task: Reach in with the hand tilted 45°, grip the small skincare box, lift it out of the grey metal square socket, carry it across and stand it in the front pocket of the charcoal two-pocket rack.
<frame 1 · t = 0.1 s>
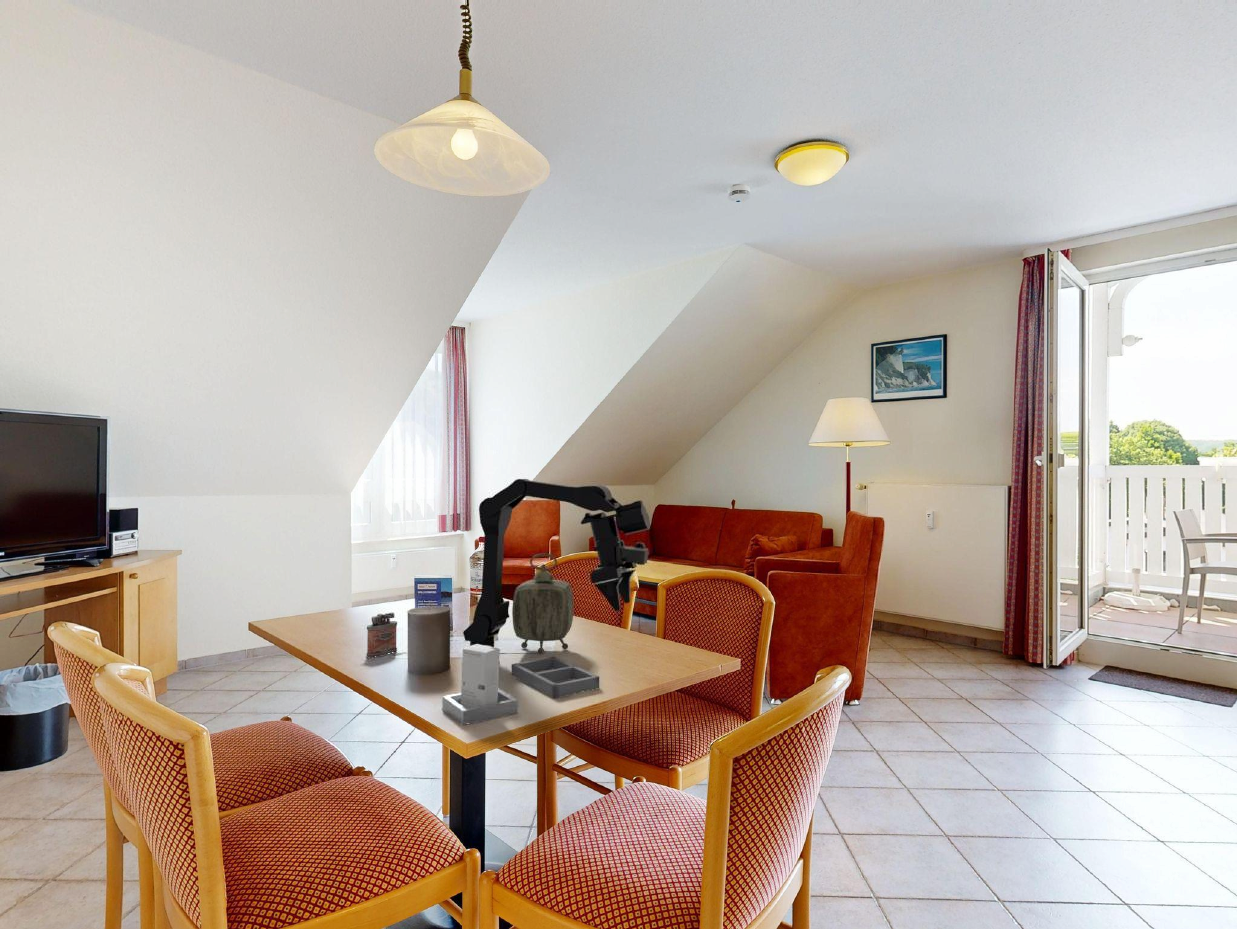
hand: (622, 606, 154), 15 cm above the table, tool pointing down, fingers open, 9 cm apart
skincare box: (479, 712, 130), resting in socket
tabletop clock: (542, 652, 173), on the table
lighter: (381, 654, 171), on the table
pillar candle: (428, 669, 158), on the table
socket: (479, 711, 130), on the table
rack: (554, 681, 149), on the table
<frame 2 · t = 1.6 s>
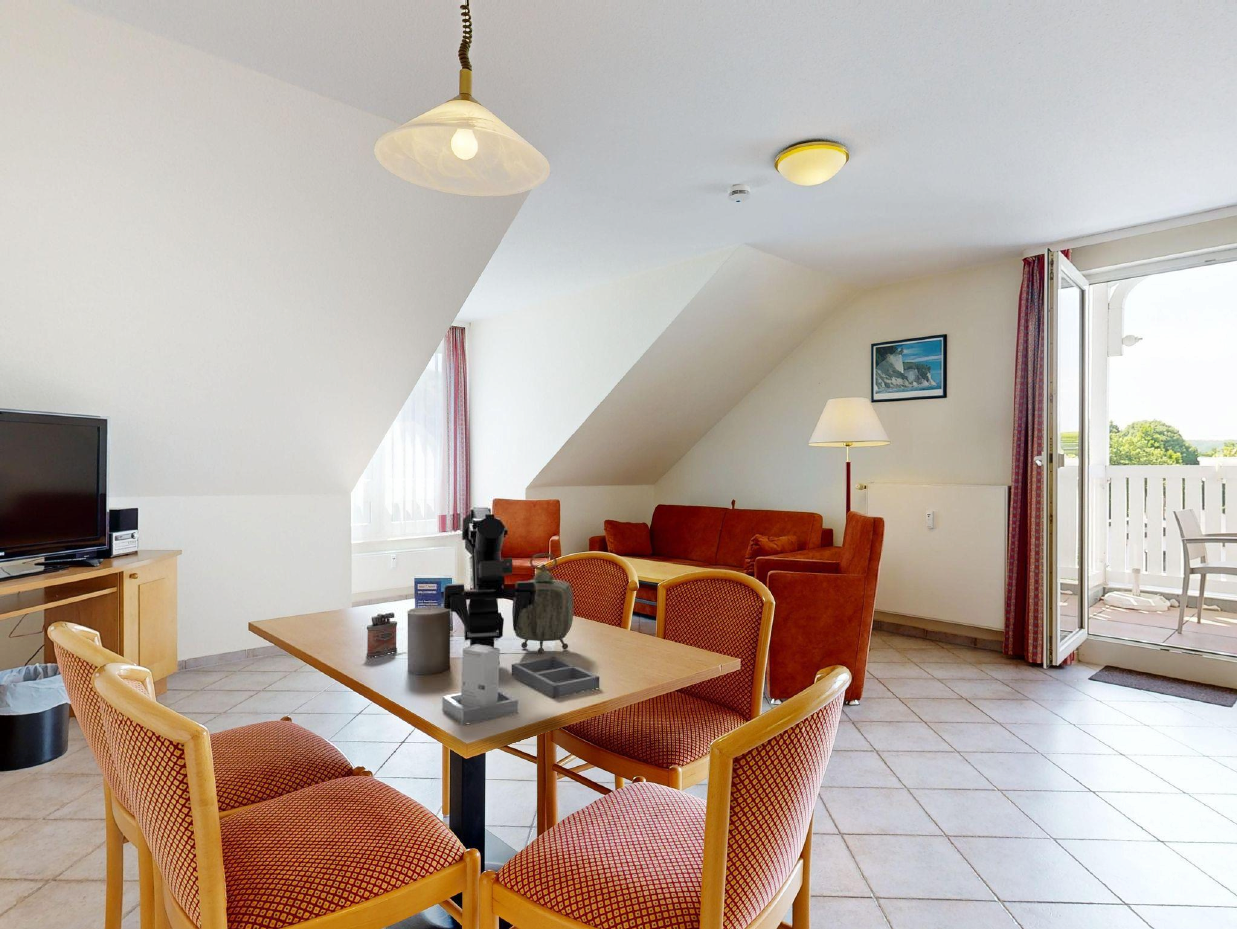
hand: (492, 630, 138), 14 cm above the table, tool tilted 40°, fingers open, 9 cm apart
nothing on the table moved.
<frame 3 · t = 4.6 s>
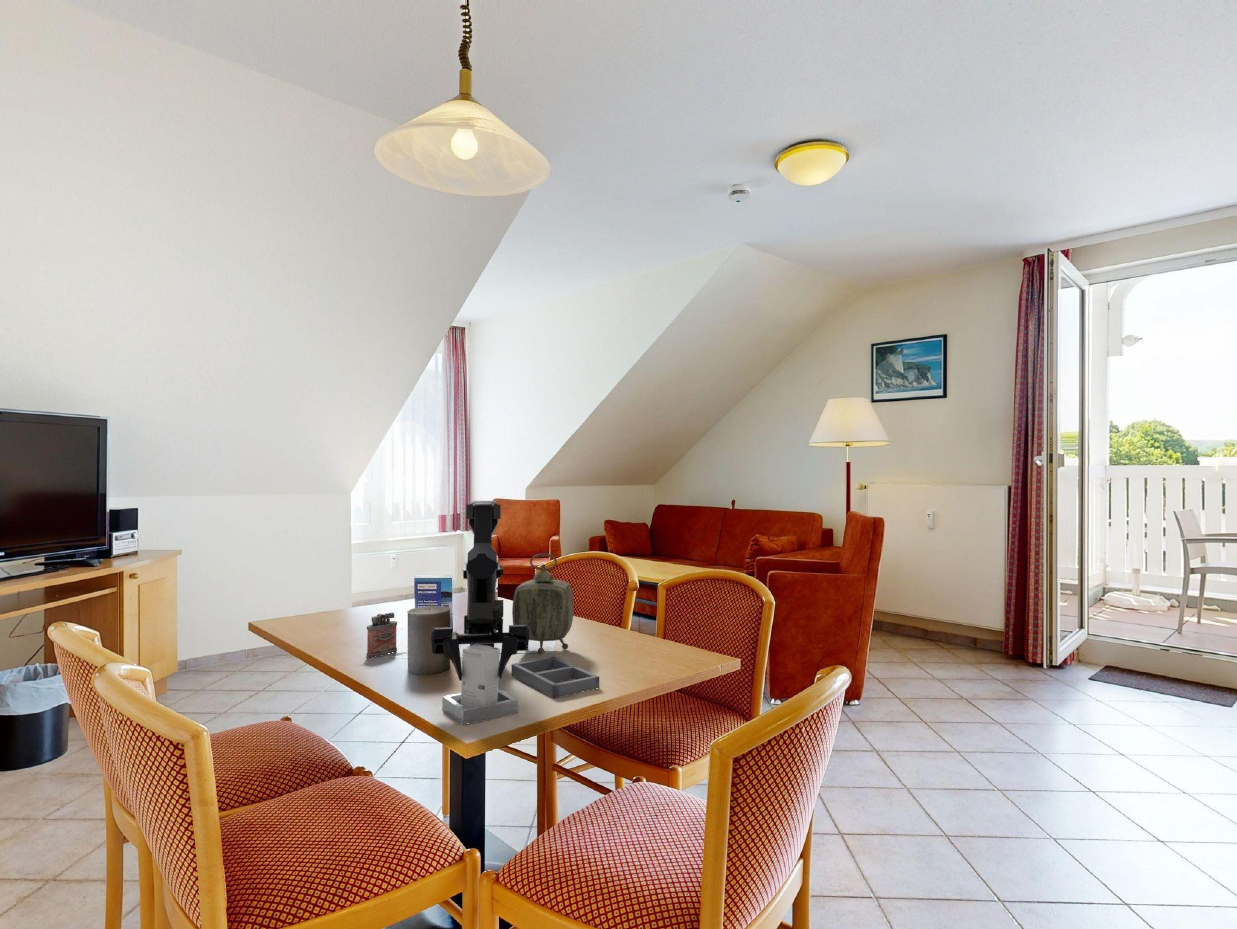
hand: (480, 678, 129), 7 cm above the table, tool tilted 45°, fingers closed on skincare box, 7 cm apart
skincare box: (479, 712, 130), resting in socket, touching gripper
everything else where it was.
when the fingers open (8 cm above the table, at t = 10.0 s): skincare box drops 1 cm, resting in rack.
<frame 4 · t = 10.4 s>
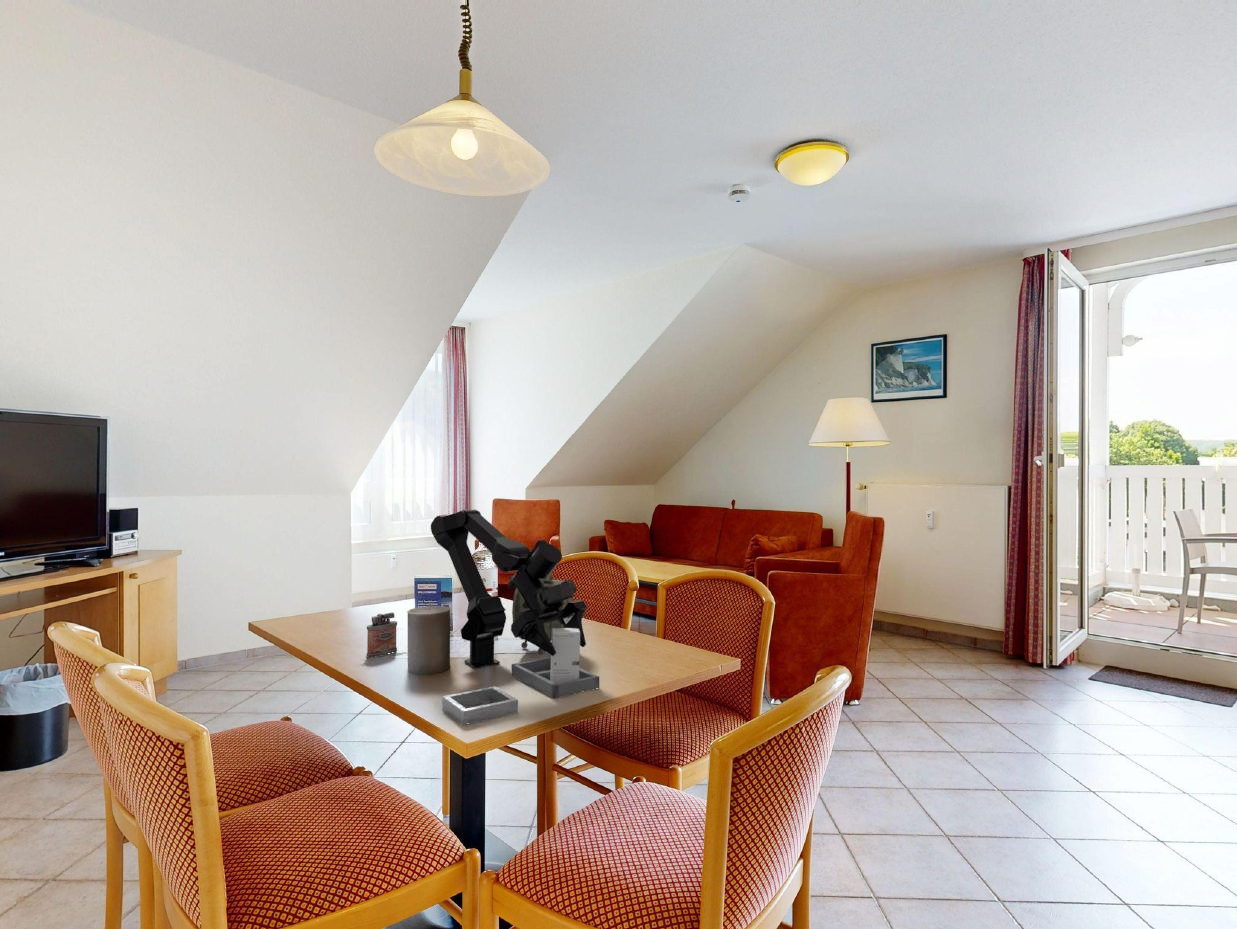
hand: (569, 650, 144), 8 cm above the table, tool tilted 45°, fingers open, 9 cm apart
skincare box: (564, 687, 145), resting in rack
everything else where it was.
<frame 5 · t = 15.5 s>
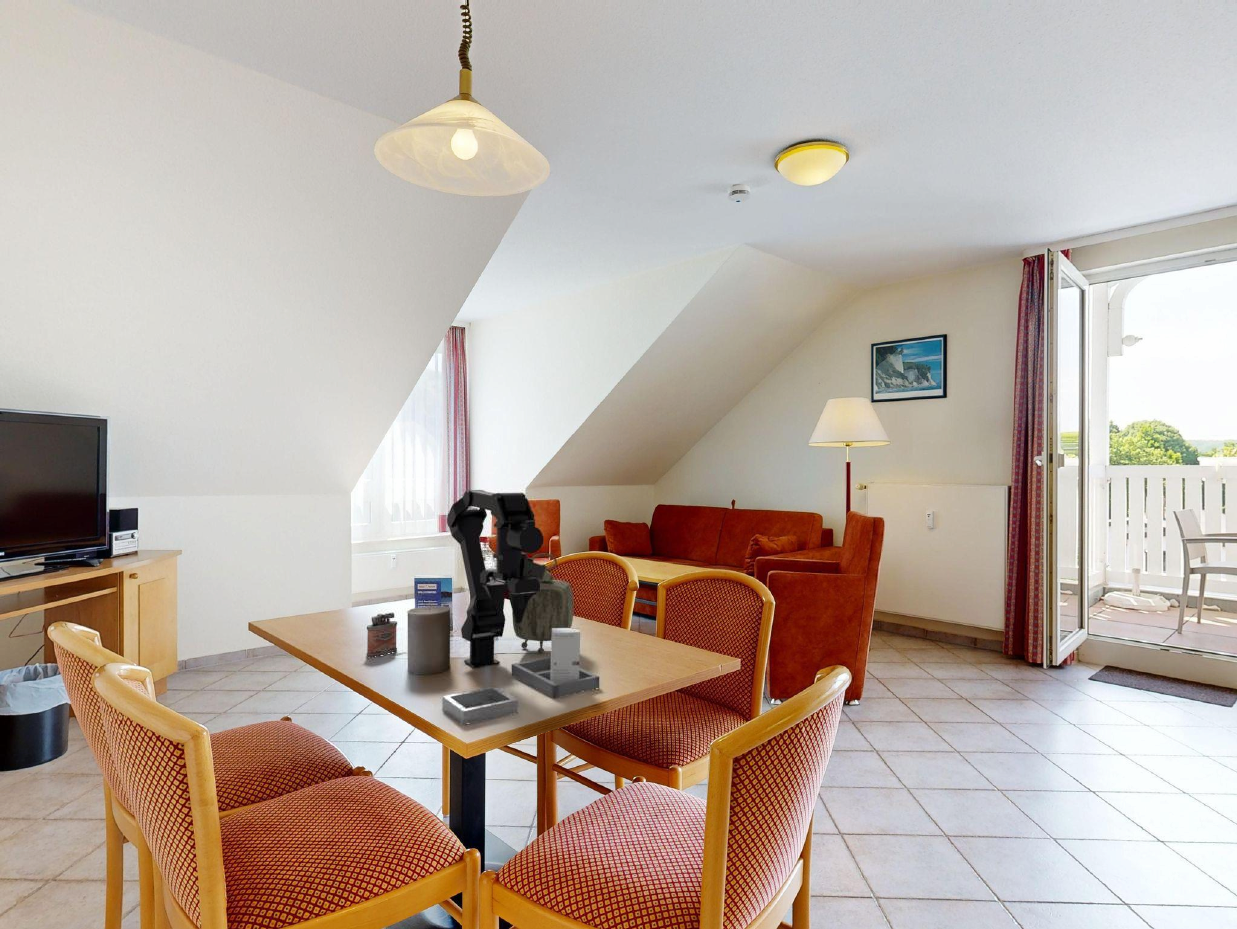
hand: (509, 619, 151), 13 cm above the table, tool pointing down, fingers open, 9 cm apart
nothing on the table moved.
at the end: skincare box 0.3 cm from the target spot on the rack, point 0.0 cm above the rack's base; skincare box tilted 0°; the gripper is holding nothing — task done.
